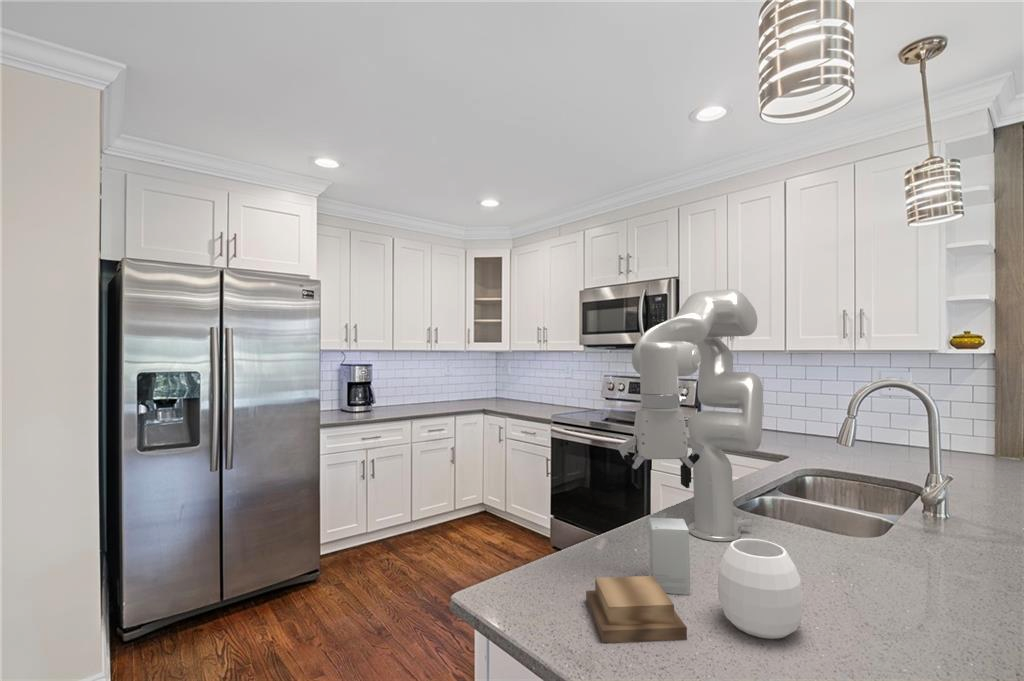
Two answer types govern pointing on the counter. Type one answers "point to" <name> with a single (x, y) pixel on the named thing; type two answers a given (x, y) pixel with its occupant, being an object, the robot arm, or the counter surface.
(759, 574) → the white vase
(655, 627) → the plinth
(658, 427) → the robot arm
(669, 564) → the supplement box
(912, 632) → the counter surface
